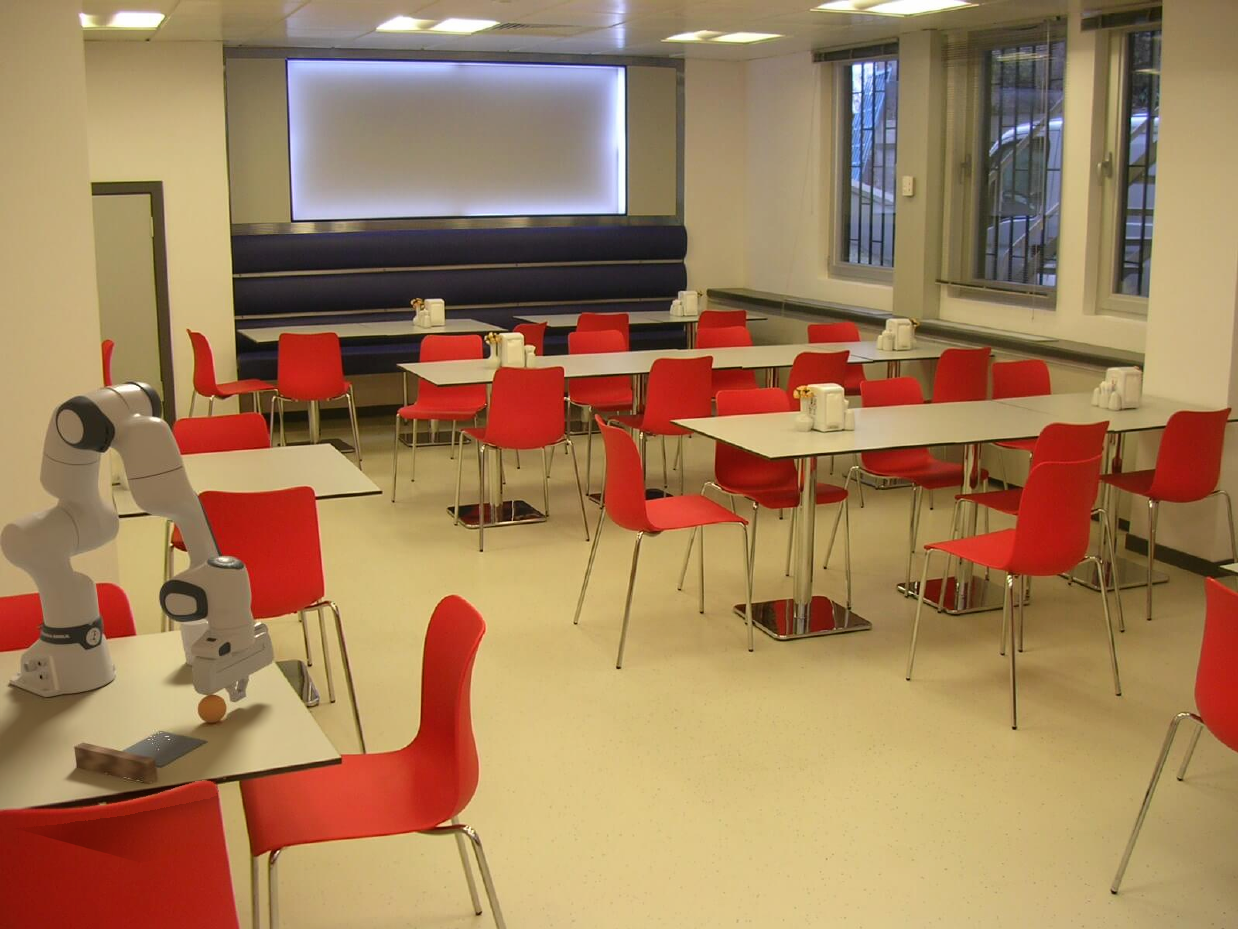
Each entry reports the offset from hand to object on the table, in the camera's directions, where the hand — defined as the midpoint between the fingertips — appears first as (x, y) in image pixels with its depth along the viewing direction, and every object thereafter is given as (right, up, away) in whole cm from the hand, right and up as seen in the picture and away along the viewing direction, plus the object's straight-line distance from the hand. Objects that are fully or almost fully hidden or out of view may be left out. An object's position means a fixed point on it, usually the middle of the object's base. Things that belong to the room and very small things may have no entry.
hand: (238, 699), depth 271 cm
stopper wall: (-14, -8, -28) cm, 33 cm away
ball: (-3, -1, -7) cm, 8 cm away
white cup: (-16, +4, +27) cm, 31 cm away
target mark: (-9, -6, -19) cm, 22 cm away
